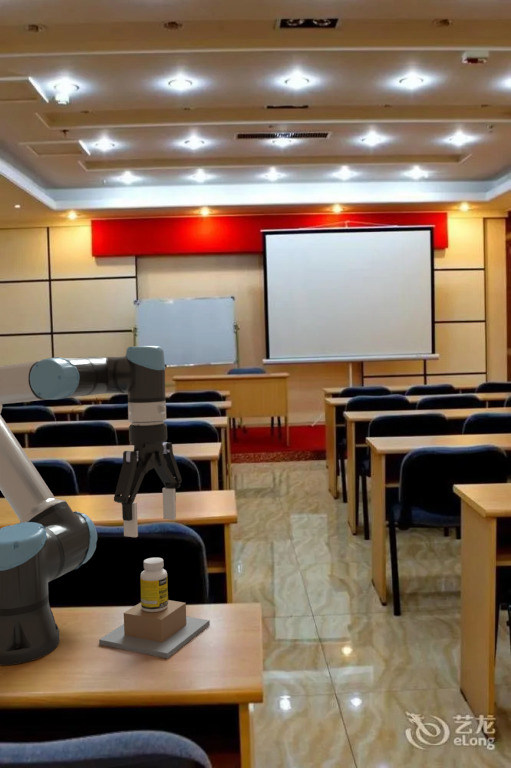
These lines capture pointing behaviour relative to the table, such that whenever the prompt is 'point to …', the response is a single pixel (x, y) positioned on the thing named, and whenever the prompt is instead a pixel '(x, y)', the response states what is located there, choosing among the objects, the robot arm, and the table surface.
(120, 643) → the base
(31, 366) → the robot arm
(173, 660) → the table surface
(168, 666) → the table surface
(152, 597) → the supplement bottle
